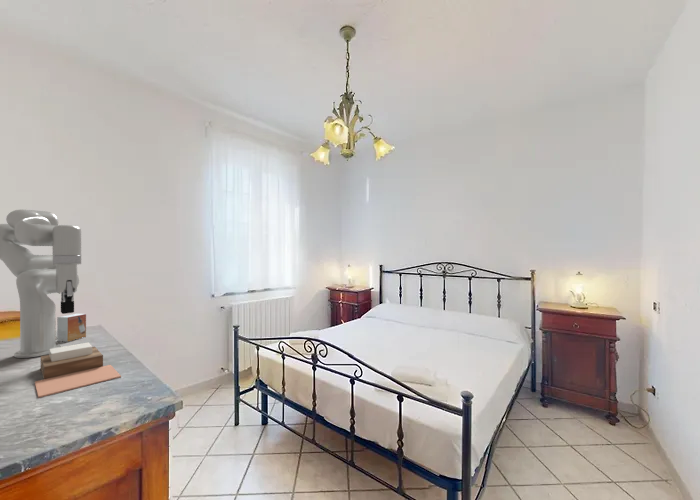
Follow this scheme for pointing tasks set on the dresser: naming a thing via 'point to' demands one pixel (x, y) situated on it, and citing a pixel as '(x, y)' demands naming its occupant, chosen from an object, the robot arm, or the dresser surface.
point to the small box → (71, 327)
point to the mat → (75, 380)
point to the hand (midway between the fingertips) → (67, 312)
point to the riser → (70, 364)
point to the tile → (70, 351)
